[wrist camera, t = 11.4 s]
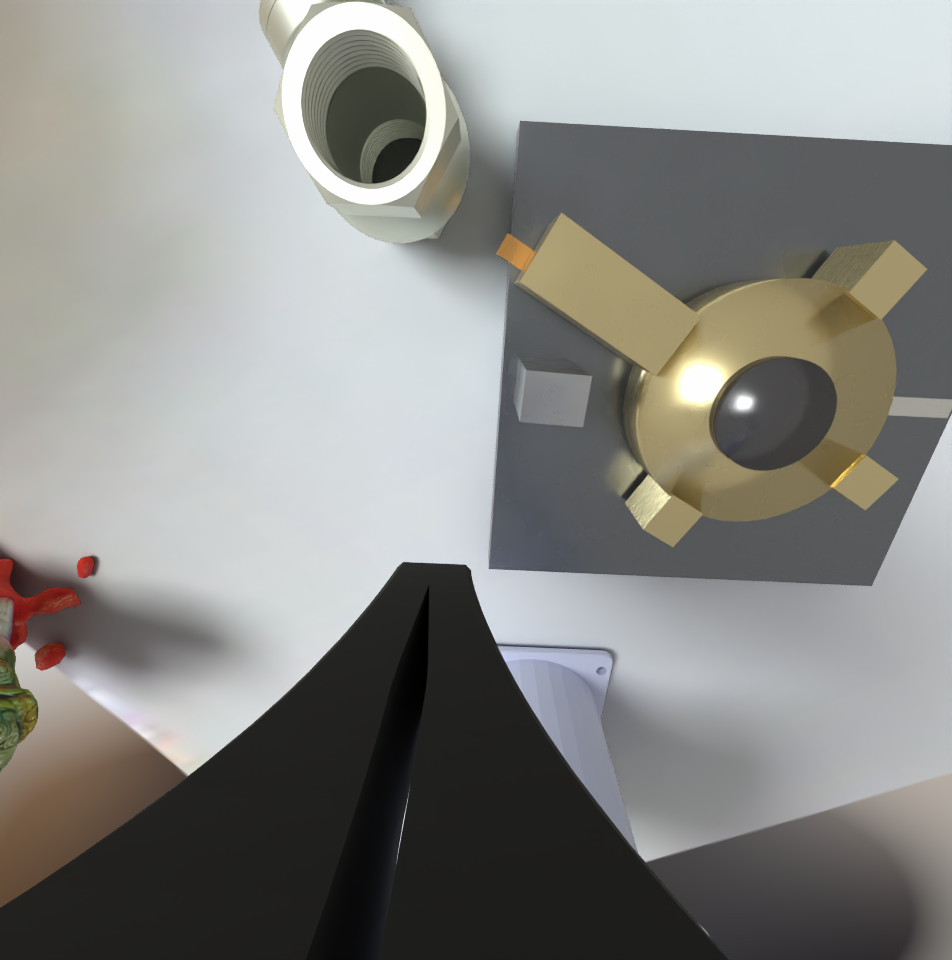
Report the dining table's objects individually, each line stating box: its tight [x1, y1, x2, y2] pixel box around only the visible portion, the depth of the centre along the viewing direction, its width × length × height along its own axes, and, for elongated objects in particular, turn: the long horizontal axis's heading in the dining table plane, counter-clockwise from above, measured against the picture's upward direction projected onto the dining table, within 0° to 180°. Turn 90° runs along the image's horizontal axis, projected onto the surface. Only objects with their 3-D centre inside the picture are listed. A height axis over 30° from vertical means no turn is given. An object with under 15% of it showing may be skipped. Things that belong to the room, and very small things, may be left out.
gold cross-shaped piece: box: [514, 213, 927, 547], centre depth 15 cm, size 14×11×3 cm
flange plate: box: [489, 121, 952, 586], centre depth 16 cm, size 16×18×4 cm
